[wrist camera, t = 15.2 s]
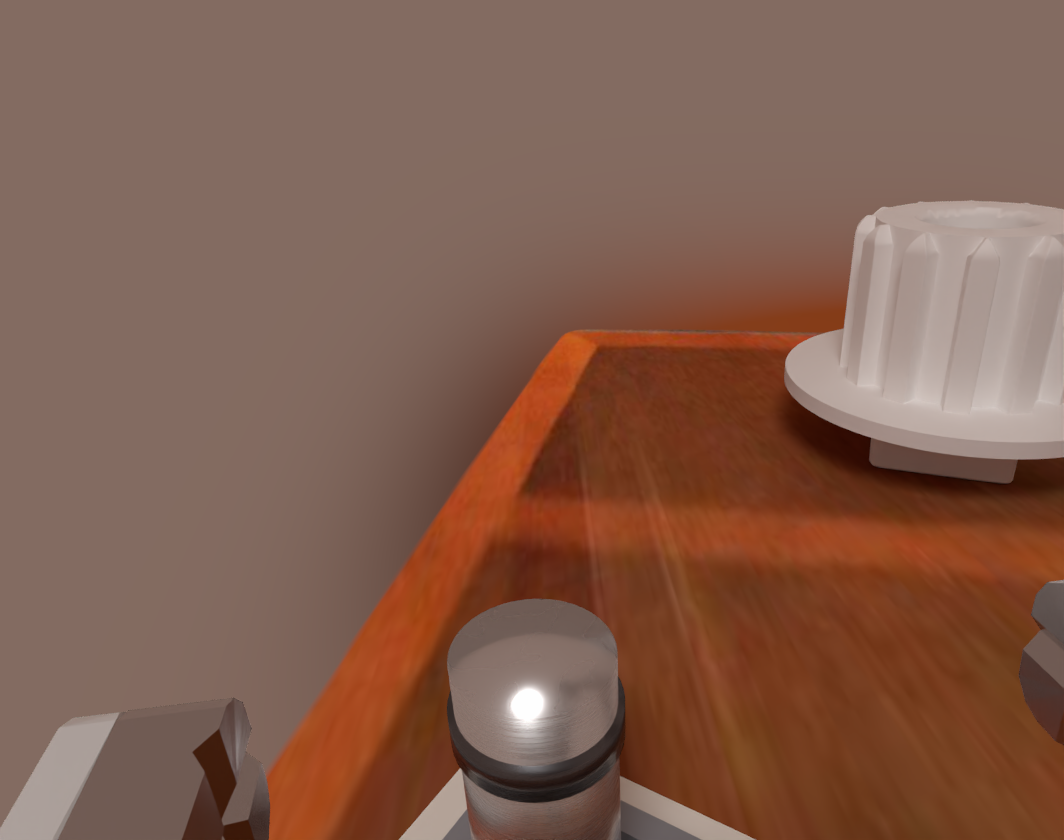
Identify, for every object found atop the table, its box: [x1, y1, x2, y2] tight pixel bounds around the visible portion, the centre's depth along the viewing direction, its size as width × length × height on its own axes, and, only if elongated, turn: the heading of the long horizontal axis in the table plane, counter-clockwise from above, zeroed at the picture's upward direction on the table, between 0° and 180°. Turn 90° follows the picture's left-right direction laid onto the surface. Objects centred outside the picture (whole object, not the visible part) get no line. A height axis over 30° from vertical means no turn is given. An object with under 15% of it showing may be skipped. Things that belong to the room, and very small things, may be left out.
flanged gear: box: [784, 200, 1064, 484], centre depth 60 cm, size 25×25×19 cm
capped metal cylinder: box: [447, 599, 625, 840], centre depth 26 cm, size 5×5×14 cm
